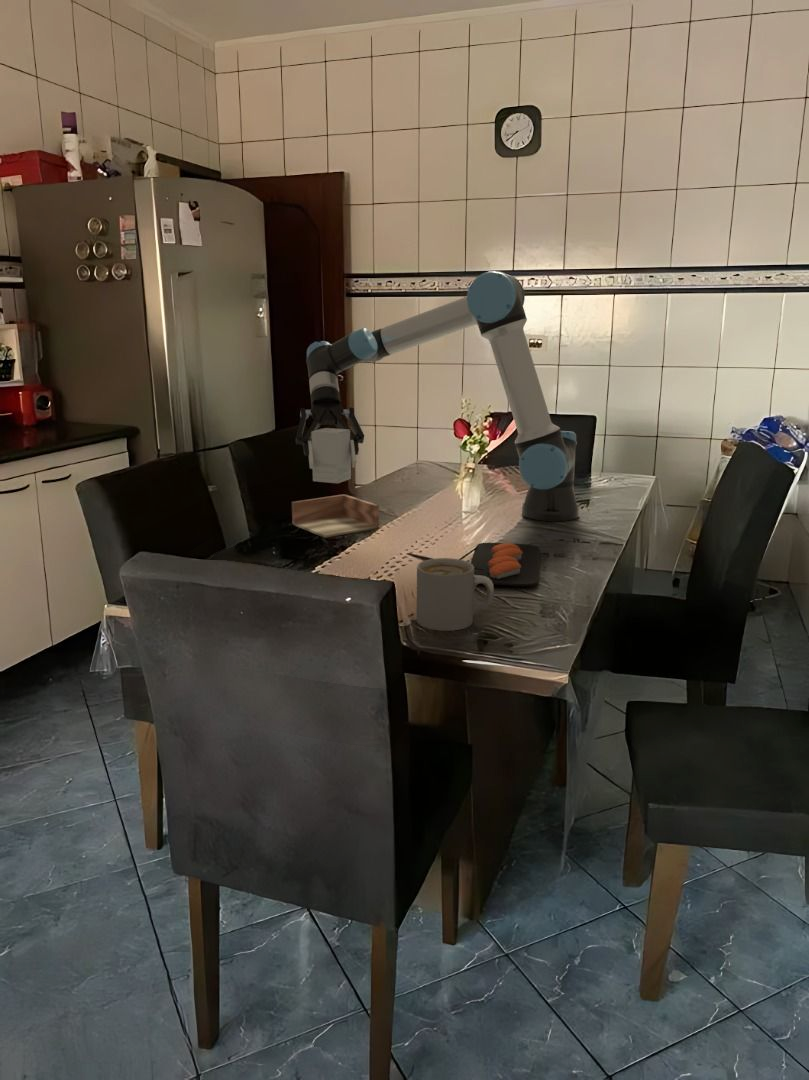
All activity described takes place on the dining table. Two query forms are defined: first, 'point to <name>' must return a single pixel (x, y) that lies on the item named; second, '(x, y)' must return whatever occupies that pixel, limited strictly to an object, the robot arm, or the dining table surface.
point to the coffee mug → (449, 594)
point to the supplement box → (331, 455)
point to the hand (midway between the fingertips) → (333, 464)
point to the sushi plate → (505, 563)
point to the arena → (335, 515)
